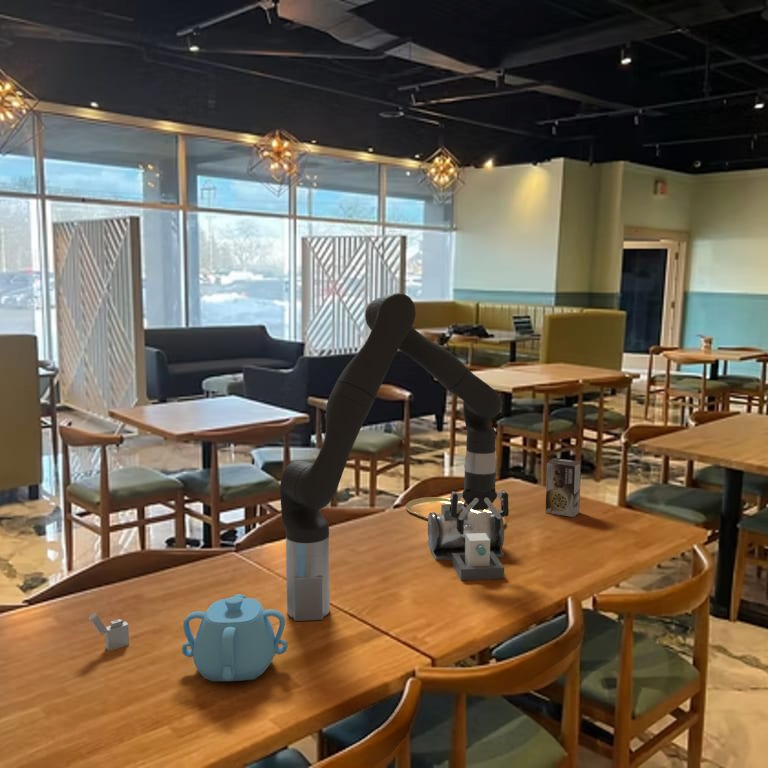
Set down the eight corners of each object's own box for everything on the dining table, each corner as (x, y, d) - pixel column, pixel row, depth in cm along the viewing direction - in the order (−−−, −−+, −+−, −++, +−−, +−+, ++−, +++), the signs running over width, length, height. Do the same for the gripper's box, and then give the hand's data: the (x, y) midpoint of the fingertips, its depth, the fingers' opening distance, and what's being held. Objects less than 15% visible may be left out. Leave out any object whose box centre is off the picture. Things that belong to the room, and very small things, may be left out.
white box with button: (491, 574, 183) (492, 543, 181) (471, 575, 182) (472, 544, 181) (484, 563, 190) (485, 533, 188) (464, 564, 189) (465, 533, 188)
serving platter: (473, 540, 209) (473, 535, 209) (393, 509, 236) (393, 504, 236) (518, 526, 221) (518, 521, 221) (437, 498, 248) (437, 493, 248)
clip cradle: (503, 578, 182) (504, 567, 182) (460, 580, 181) (461, 569, 181) (489, 557, 196) (490, 547, 195) (449, 559, 194) (449, 549, 194)
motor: (504, 557, 196) (505, 512, 194) (434, 560, 194) (435, 515, 192) (492, 541, 208) (493, 498, 206) (426, 543, 206) (427, 501, 204)
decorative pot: (175, 666, 142) (172, 597, 140) (248, 638, 153) (247, 574, 150) (219, 702, 130) (216, 628, 128) (295, 669, 141) (294, 601, 138)
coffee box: (580, 512, 233) (582, 461, 230) (573, 517, 227) (575, 465, 225) (551, 507, 238) (553, 457, 235) (544, 512, 232) (546, 461, 230)
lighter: (126, 641, 151) (124, 603, 150) (129, 644, 150) (127, 606, 148) (90, 652, 146) (88, 613, 145) (93, 656, 145) (91, 617, 144)
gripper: (454, 473, 178) (452, 539, 181) (513, 472, 180) (510, 537, 182) (448, 465, 186) (446, 528, 188) (504, 464, 187) (502, 527, 190)
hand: (478, 533), depth 185 cm, fingers open, 8 cm apart
